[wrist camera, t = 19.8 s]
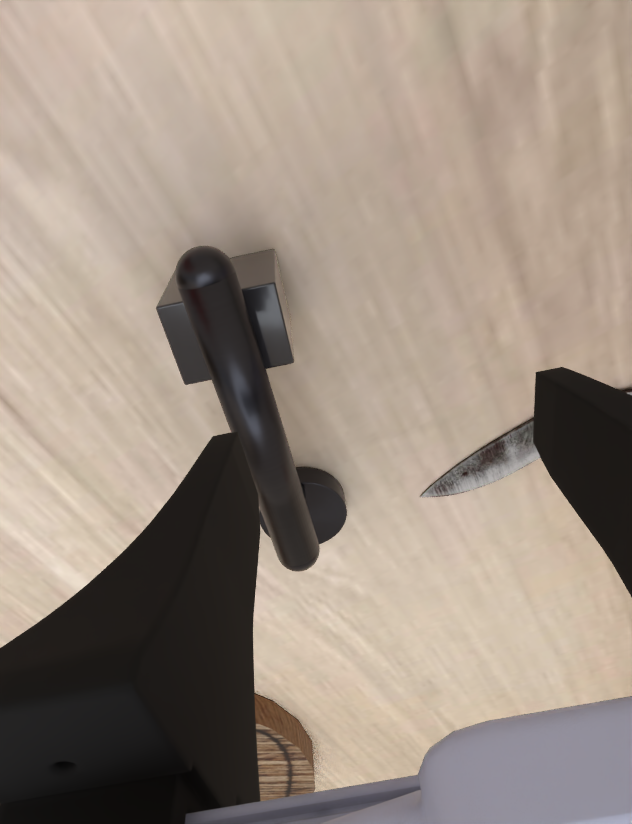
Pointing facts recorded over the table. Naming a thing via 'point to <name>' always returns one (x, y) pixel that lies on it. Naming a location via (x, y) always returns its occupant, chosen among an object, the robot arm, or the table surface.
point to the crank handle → (257, 412)
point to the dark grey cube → (263, 307)
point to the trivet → (282, 753)
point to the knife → (490, 462)
